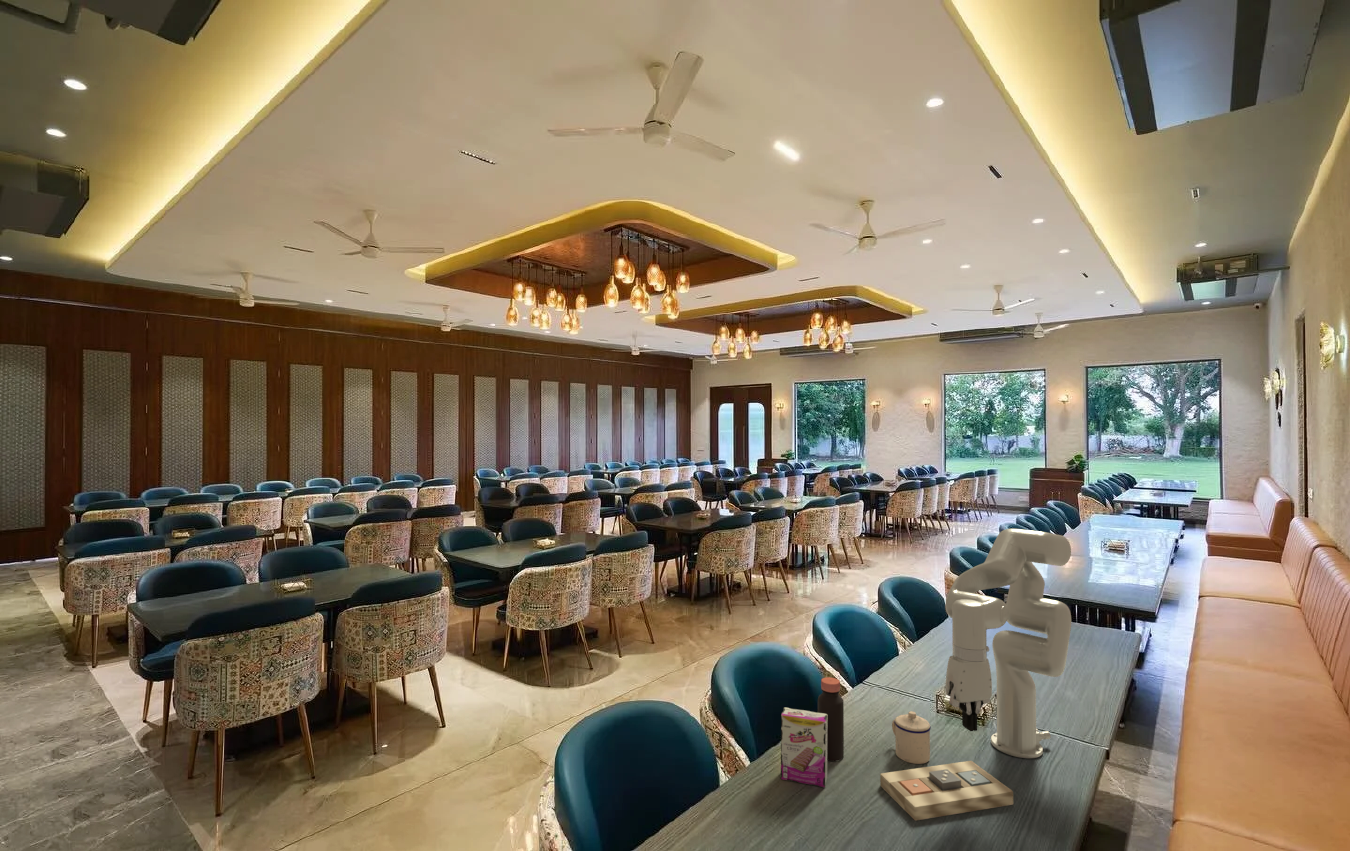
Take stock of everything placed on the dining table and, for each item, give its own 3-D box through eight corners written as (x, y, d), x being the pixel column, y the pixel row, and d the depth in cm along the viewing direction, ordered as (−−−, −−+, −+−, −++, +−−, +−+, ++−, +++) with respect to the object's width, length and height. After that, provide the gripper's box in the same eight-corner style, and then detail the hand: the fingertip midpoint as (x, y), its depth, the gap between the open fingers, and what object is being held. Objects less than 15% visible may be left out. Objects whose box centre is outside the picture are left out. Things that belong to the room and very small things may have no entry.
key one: (918, 791, 149) (918, 778, 149) (931, 803, 144) (931, 789, 144) (900, 793, 147) (900, 780, 147) (912, 806, 143) (912, 792, 143)
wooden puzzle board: (971, 772, 157) (971, 760, 157) (1013, 804, 144) (1013, 791, 144) (880, 785, 151) (880, 773, 151) (915, 820, 138) (915, 807, 138)
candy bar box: (780, 780, 154) (780, 714, 154) (783, 770, 158) (783, 706, 159) (826, 788, 150) (825, 721, 150) (828, 778, 155) (827, 712, 155)
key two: (975, 782, 152) (975, 769, 152) (990, 793, 147) (990, 780, 147) (957, 785, 151) (957, 772, 151) (972, 796, 146) (972, 783, 146)
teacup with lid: (938, 760, 163) (938, 716, 163) (911, 768, 159) (911, 722, 159) (905, 740, 174) (905, 698, 174) (880, 746, 170) (879, 704, 171)
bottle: (845, 763, 162) (844, 686, 162) (818, 760, 163) (818, 684, 163) (842, 749, 168) (842, 676, 169) (817, 747, 170) (816, 674, 170)
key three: (947, 781, 150) (947, 768, 150) (961, 793, 146) (961, 779, 146) (929, 784, 149) (929, 771, 149) (942, 795, 144) (942, 782, 144)
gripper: (984, 644, 155) (984, 718, 155) (932, 649, 151) (933, 724, 151) (1007, 655, 148) (1007, 732, 147) (953, 660, 144) (953, 739, 144)
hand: (969, 728), depth 149 cm, fingers closed
